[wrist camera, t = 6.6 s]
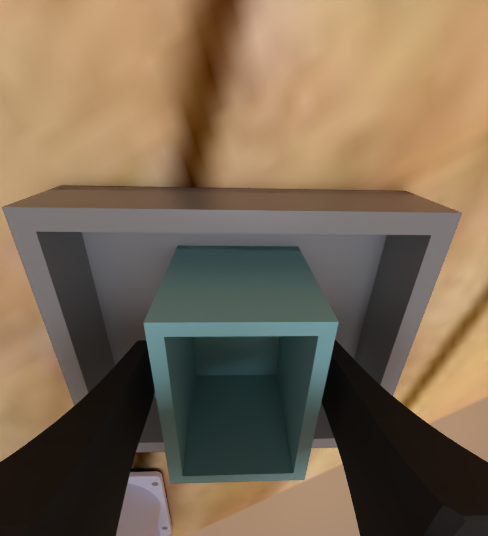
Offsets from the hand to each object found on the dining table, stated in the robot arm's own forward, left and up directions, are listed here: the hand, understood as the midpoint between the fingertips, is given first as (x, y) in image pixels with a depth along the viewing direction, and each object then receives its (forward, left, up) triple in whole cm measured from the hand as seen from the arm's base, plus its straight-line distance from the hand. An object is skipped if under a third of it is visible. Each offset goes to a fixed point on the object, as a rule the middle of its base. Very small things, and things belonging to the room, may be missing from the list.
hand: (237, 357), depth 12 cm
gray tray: (0, 0, -3) cm, 3 cm away
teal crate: (0, 0, -3) cm, 3 cm away
